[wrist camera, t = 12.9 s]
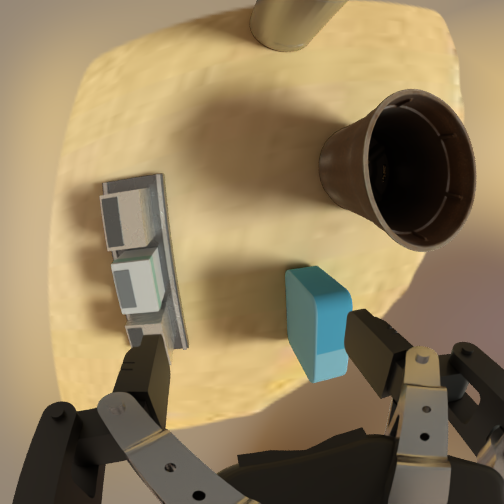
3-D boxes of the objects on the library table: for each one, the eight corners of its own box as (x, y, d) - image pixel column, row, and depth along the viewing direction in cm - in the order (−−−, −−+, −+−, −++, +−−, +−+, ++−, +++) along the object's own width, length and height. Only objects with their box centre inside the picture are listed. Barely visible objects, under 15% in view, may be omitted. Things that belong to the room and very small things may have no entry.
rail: (106, 183, 33) (83, 184, 26) (164, 173, 34) (153, 172, 27) (137, 346, 39) (128, 376, 32) (188, 342, 40) (187, 373, 33)
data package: (314, 334, 43) (346, 379, 32) (287, 340, 43) (312, 388, 31) (314, 262, 40) (354, 293, 29) (284, 266, 40) (315, 301, 28)
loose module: (124, 250, 34) (109, 264, 28) (157, 246, 35) (148, 260, 29) (133, 294, 36) (121, 315, 30) (165, 291, 36) (159, 312, 30)
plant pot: (306, 230, 39) (367, 263, 24) (296, 113, 35) (354, 77, 19) (399, 220, 41) (475, 242, 26) (393, 118, 37) (469, 103, 21)
